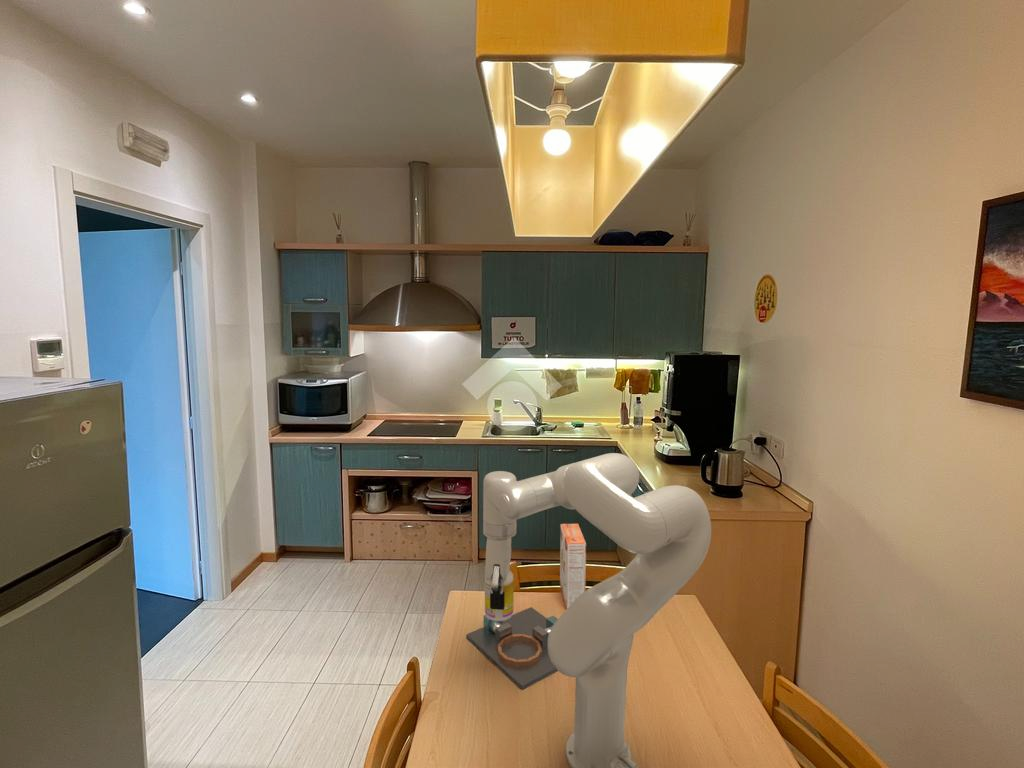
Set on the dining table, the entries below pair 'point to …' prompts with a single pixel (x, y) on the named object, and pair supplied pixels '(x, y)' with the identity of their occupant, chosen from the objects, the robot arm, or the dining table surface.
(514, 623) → the base
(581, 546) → the cracker box
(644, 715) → the dining table surface
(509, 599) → the supplement bottle
